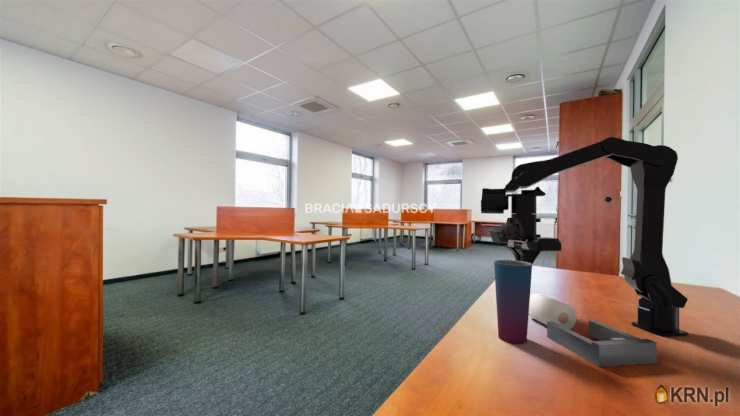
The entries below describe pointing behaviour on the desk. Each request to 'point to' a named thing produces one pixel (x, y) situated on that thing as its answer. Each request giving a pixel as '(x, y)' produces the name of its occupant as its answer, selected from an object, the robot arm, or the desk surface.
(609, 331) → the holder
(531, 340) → the desk surface
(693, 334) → the desk surface
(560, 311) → the roll
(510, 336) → the cup
